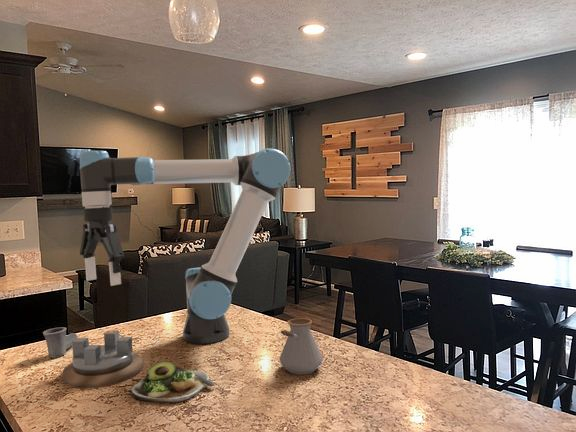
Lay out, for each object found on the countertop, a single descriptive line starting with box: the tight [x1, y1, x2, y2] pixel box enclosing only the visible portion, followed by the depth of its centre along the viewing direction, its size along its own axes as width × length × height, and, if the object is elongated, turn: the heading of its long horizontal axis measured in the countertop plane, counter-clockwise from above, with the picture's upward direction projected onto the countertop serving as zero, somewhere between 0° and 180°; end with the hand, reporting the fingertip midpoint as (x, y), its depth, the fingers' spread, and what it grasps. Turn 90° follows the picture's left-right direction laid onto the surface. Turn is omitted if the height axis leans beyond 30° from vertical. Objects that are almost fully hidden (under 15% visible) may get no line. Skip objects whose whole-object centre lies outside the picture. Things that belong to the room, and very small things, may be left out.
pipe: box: [42, 326, 79, 359], centre depth 140 cm, size 6×13×8 cm, turn 174°
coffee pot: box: [276, 317, 324, 375], centre depth 117 cm, size 21×12×15 cm, turn 162°
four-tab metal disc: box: [71, 329, 134, 375], centre depth 123 cm, size 15×15×7 cm
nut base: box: [62, 352, 144, 389], centre depth 124 cm, size 20×20×2 cm
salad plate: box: [130, 361, 216, 403], centre depth 113 cm, size 19×18×5 cm
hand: (103, 282), depth 129 cm, fingers open, 13 cm apart
